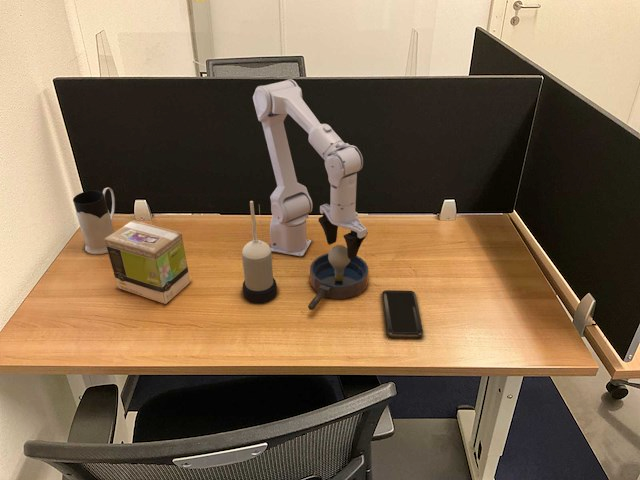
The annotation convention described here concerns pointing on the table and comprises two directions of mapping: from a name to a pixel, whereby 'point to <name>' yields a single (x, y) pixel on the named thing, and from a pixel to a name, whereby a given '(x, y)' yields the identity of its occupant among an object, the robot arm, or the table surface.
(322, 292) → the pan handle
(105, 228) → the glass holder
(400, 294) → the phone
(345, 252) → the light bulb
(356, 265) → the pan
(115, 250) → the tea box
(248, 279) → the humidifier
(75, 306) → the table surface
